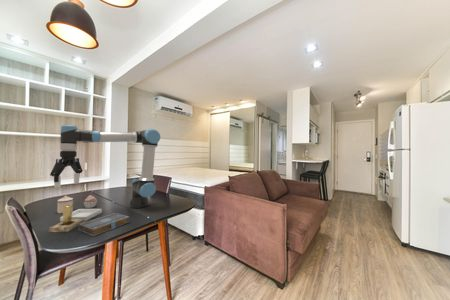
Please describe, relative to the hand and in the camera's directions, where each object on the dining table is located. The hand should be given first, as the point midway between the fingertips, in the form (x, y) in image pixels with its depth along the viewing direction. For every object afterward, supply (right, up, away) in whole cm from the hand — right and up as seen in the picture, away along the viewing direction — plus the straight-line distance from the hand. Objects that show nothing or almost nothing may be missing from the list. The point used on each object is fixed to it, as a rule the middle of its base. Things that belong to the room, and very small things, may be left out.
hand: (67, 185), depth 105 cm
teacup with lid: (-26, -25, +26) cm, 44 cm away
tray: (-3, -25, +15) cm, 29 cm away
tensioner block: (+1, -25, -2) cm, 25 cm away
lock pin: (+1, -25, -2) cm, 25 cm away
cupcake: (-13, -25, +35) cm, 45 cm away
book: (+22, -26, +1) cm, 34 cm away
